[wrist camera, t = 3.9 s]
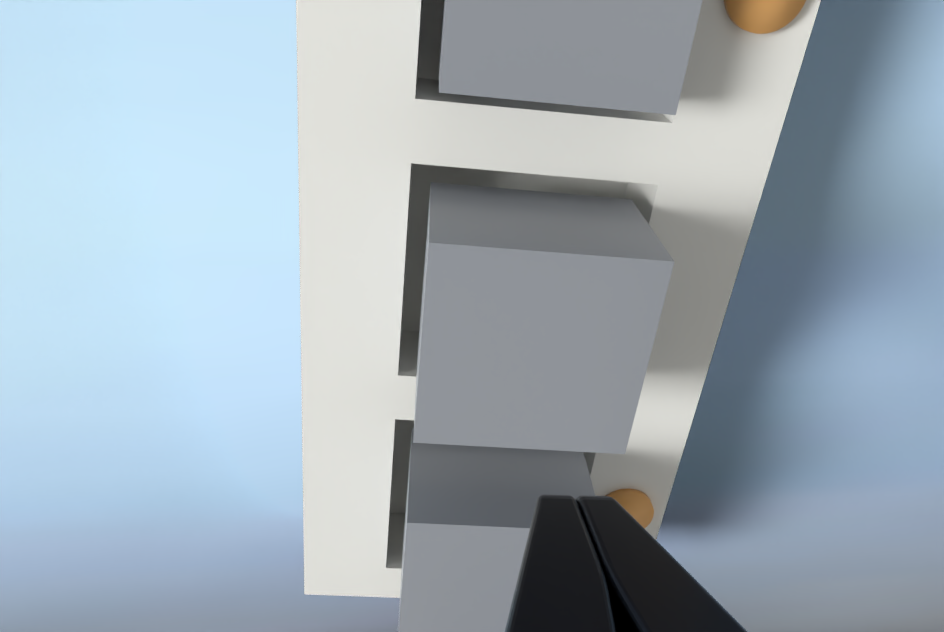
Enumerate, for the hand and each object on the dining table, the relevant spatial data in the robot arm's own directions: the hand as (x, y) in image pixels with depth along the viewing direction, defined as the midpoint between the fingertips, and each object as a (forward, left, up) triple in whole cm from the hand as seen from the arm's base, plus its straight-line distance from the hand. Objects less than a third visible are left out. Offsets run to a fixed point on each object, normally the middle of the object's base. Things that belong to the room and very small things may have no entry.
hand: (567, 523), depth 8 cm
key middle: (-1, 0, -8) cm, 8 cm away
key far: (-7, 0, -8) cm, 10 cm away
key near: (+5, 0, -9) cm, 11 cm away
